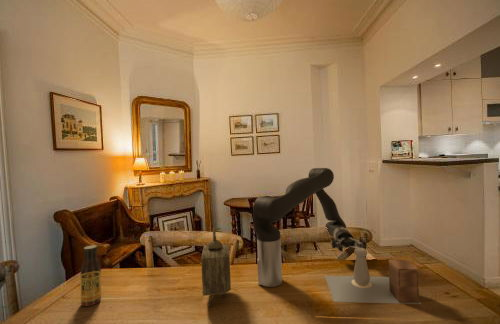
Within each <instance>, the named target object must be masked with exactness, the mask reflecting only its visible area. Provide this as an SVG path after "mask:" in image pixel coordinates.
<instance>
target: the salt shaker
mask: <svg viewBox="0 0 500 324" xmlns="http://www.w3.org/2000/svg"><path fill="white" fill-rule="evenodd" d="M354 256H355V263H354V268H353V275H352V276H353V277H354V280H355V282H356V284H358V285H361V286H366V285H368V283H369V281H370V272H369V267H368V263H367V258H366V256H368V251H367V248H365V249H364V248H354Z"/></svg>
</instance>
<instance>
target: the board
mask: <svg viewBox="0 0 500 324" xmlns="http://www.w3.org/2000/svg"><path fill="white" fill-rule="evenodd" d="M324 278H325V280H326V284H327V287H328V289H329V291H330V296H331V298H332V299H333V302H334V303H361V304H362V303H363V304H365V303H366V304H369V303H370V304H400V305H402V304H405V305H407V304H408V305H409V304H410V305H411V304H412V305H422V303H421V301H419V303H399V302H398V301H397V299H396V298H395V297H394V296H393V294H392V293H391V292H390V285H389V276H370V281H369V283H368V285H366V286H361V285H358V284H356V282H355V280H354V277H353V275H324Z"/></svg>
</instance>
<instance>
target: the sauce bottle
mask: <svg viewBox="0 0 500 324" xmlns="http://www.w3.org/2000/svg"><path fill="white" fill-rule="evenodd" d="M97 251H98V245H96V244H95V245H94V244H93V245H91V244H90V245H86V246H84V247H83V253H84V258H83V259H84V260H83V262H82V263H81V266H80V274H79V275H80V304H81V306H83V307H91V306H94V305H96V304H98V303H99V302H100V301H101V299H102V271H101V266H102V265H101V262H100V261H99V260H98V256H97V255H98V253H97Z"/></svg>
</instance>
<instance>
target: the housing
mask: <svg viewBox="0 0 500 324" xmlns="http://www.w3.org/2000/svg"><path fill="white" fill-rule="evenodd" d="M388 277H389V285H390V292H391V293H392V294H393V296H394V297H395V298H396V299H397V301H398V302H399V303H419V302H420V294H419V292H420V291H419V290H420V289H419V288H420V287H419V269H418V268H417V267H416V266H415V265H414V264H413V263H411V262H410V261H409V260H408V259H388ZM399 303H398V304H399Z"/></svg>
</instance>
